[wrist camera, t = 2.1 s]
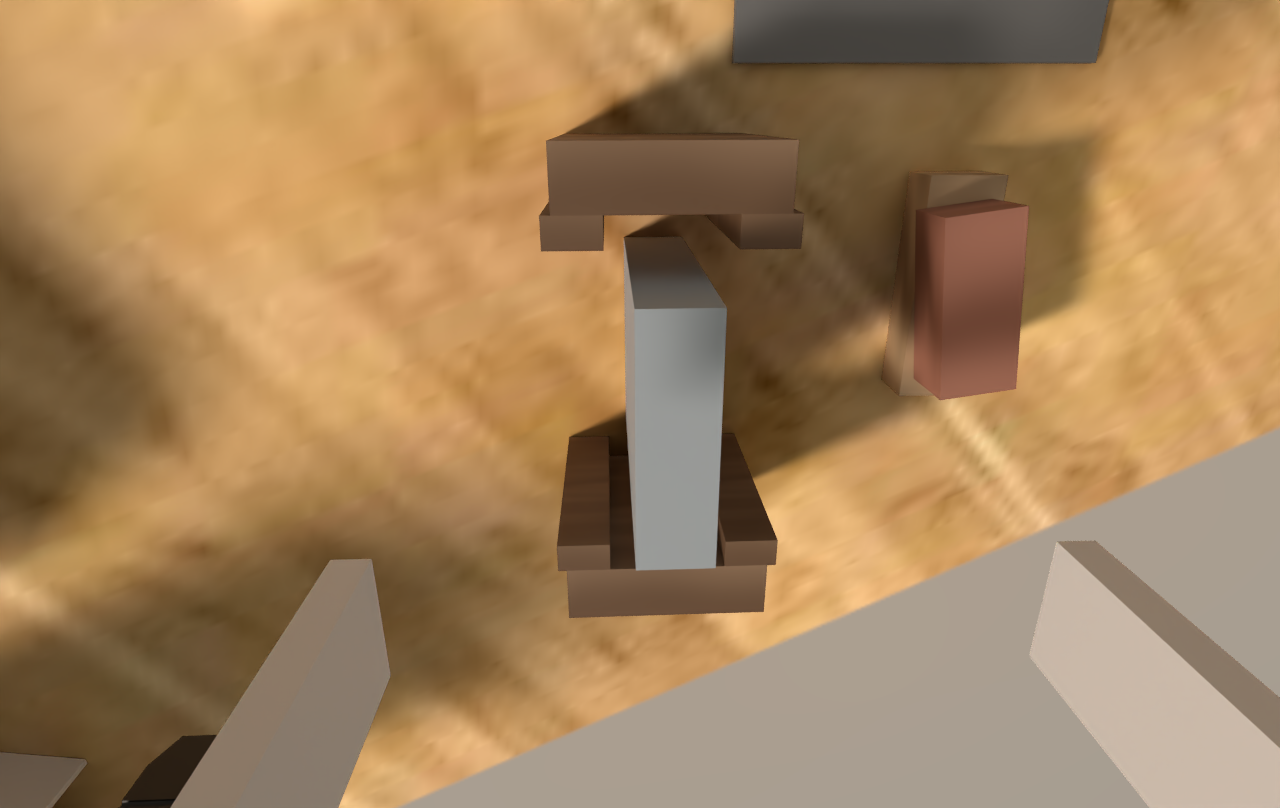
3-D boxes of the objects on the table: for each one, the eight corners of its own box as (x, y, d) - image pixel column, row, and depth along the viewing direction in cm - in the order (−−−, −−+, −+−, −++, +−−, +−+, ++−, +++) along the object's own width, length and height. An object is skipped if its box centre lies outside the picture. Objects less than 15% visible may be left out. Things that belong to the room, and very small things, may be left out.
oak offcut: (905, 170, 29) (931, 175, 27) (976, 170, 30) (1008, 175, 27) (878, 376, 33) (899, 396, 30) (942, 375, 33) (967, 394, 31)
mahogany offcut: (915, 209, 28) (945, 218, 25) (992, 198, 28) (1028, 206, 25) (913, 378, 30) (940, 400, 28) (983, 368, 30) (1016, 388, 28)
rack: (556, 133, 28) (535, 140, 20) (749, 133, 28) (809, 139, 20) (571, 494, 34) (561, 617, 25) (731, 490, 34) (771, 611, 26)
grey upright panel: (623, 237, 29) (634, 309, 18) (681, 236, 30) (726, 307, 18) (625, 415, 32) (635, 570, 21) (678, 414, 33) (715, 567, 21)
